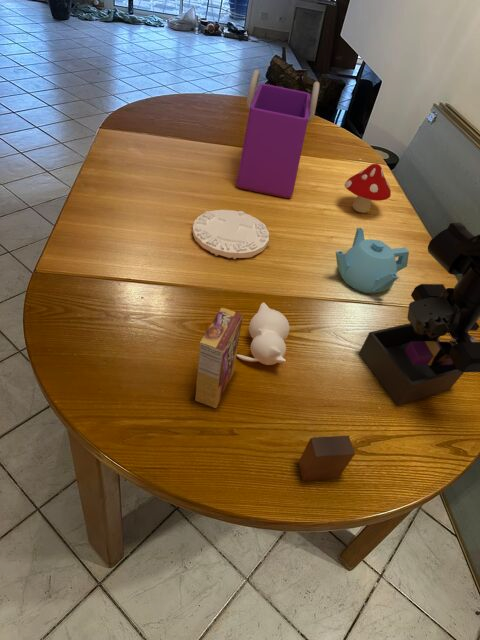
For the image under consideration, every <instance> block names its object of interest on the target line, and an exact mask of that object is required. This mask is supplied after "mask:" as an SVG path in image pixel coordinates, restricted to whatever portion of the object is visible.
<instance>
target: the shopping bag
mask: <svg viewBox="0 0 480 640" xmlns="http://www.w3.org/2000/svg"><path fill="white" fill-rule="evenodd" d="M260 73H261V72H260V70H259V69H254V71H253V72H252V76H251V80H250V84H249V88H248V94H247V98H246V107H247V109H248V117H247V121H246V122H247V123H246V127H245V128H246V129H245V134H244V138H243V144H242V150H241V155H240V162H239V167H238V173H237V178H236V187H237V188H239V189H241V190H245V191H250V192H254V193H255V192H256V193H260V194H265V195H270V196H275V197H279V198H286V199H290V198H292V196H293V194H294V189H295V186H296V181H297V175H298V171H299V166H300V161H301V156H302V151H303V146H304V142H305V138H306V132H307V127H308V123H310V122H311V121H312V120H313V119H314V117H315V114H316V110H317V109H316V108H317V103H318V98H319V93H320V87H321V86H320V85H321V84H320V82H319V81H315V82H313V85H312V90H311V93H309V92H307V91H302V90H297V89H291V88H287V87H281V86H277V85H273V84H267V83H259V80H260Z"/></svg>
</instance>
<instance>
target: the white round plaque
mask: <svg viewBox="0 0 480 640" xmlns="http://www.w3.org/2000/svg"><path fill="white" fill-rule="evenodd" d="M191 233H192V235H193V239H194V241H196V243H197V244H198V245H199V246H200V247H201V248H202V249H204V250H207V251H208V252H210V253H211V254H214V256H216V257H218V256H222V257H225V258H228V259H233V260H237V258H238V259H250V258H253V257H254V256H256V255H258V254H260V253H261V252H263V251H264V250H265V249H266V248H267V247H268V244H269V241H270V232H269V230H268V228H267V225H266V224H265V223H264V222H262V221H261V220H260V219H258V218H257V217H254V216H253V215H250V214H248V213H245V211H243V210H238V211H237V210H234V209H233V210H232V209H217V210H210V211H208V210H206V211H204V212H203V213H202V214H200V215H199V216H197V218H196V219H195V220H194V222H193V225H192V231H191Z"/></svg>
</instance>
